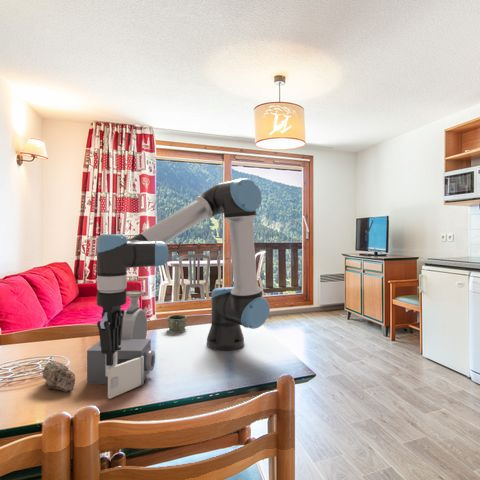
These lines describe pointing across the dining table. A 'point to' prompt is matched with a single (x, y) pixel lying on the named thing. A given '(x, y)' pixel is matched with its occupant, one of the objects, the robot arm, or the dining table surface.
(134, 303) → the candle holder
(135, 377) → the door
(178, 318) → the vessel
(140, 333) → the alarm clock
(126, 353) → the camera body
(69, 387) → the rock
